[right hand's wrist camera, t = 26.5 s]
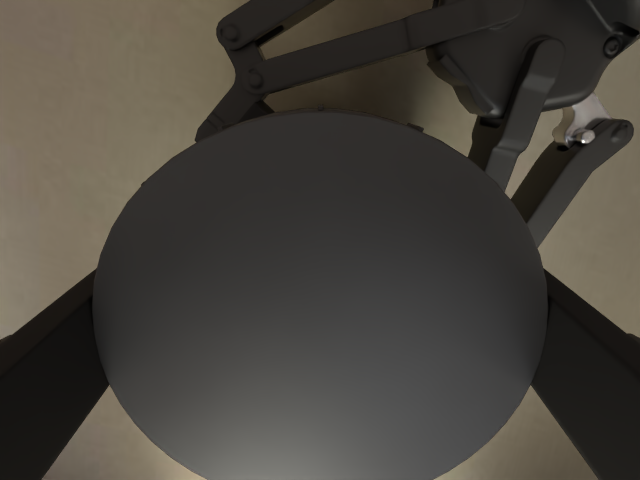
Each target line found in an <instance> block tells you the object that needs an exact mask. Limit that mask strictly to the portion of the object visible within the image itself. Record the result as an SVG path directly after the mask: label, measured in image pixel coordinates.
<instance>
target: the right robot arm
mask: <svg viewBox="0 0 640 480" xmlns="http://www.w3.org/2000/svg"><path fill="white" fill-rule="evenodd" d="M543 270H544V274H545V278H546V284H547V297H548V320H547V333H546V338H545V342H544V346H543V351H542V355H541V359H540V362H539V365H538V368H537V370H536V373H535V375H534V378H533V380H532V383H531V386H532V387H533V389H534V390H535V391H536V393H537V394H538V396H539V397H540V398H541V400H542V401H543V403H544V404H545V405H546V407H547V408H548V410H549V411H550V412H551V414H552V415H553V416H554V418H555V419H556V421H557V422H558V423H559V425H560V426H561V428H562V429H563V430H564V432H565V433H566V435H567V436H568V437H569V439H570V440H571V441H572V443H573V444H574V446H575V447H576V448H577V450H578V451H579V453H580V454H581V455H582V457H583V458H584V460H585V461H586V462H587V464H588V465H589V466H590V468H591V469H592V471H593V472H594V473H595V475H596V476H597V478H598V479H599V480H640V338H639V337H637V336H635V335H633V334H626V333H625V332H624V331H623V330H621V329H620V328H619V327H618V326H616V325H615V324H614V323H612V322H611V321H610V320H609V319H607V318H606V317H605V316H604V315H602V314H601V313H600V312H599V311H597V310H596V309H595V308H593V307H592V306H591V305H590V304H588V303H587V302H586V301H585V300H583V299H582V298H581V297H579V296H578V295H577V294H576V293H574V292H573V291H572V290H571V289H569V288H568V287H567V286H565V285H564V284H563V283H562V282H560V281H559V280H558V279H557V278H555V277H554V276H553V275H552V274H550V273H549V272H548V271H546V270H545V269H544V268H543ZM96 271H97V268H96V269H95V270H94V271H93V272H91V273H90V274H89V275H87V276H86V277H85V278H84V279H82V280H81V281H80V282H79V283H77V284H76V285H75V286H74V287H72V288H71V289H70V290H68V291H67V292H66V293H65V294H63V295H62V296H61V297H60V298H58V299H57V300H56V301H54V302H53V303H52V304H51V305H49V306H48V307H47V308H46V309H44V310H43V311H42V312H41V313H39V314H38V315H37V316H35V317H34V318H33V319H32V320H30V321H29V322H28V323H27V324H25V325H24V326H23V327H21V328H20V329H19V330H18V331H16V332H15V333H14V334H13V335H9V336H7V337H5V338H3V339H1V340H0V480H41V479H42V478H43V477H44V475H45V474H46V472H47V471H48V470H49V468H50V467H51V465H52V464H53V463H54V461H55V460H56V458H57V457H58V456H59V454H60V453H61V452H62V450H63V449H64V447H65V446H66V445H67V443H68V442H69V440H70V439H71V438H72V436H73V435H74V433H75V432H76V431H77V429H78V428H79V427H80V425H81V424H82V422H83V421H84V420H85V418H86V417H87V415H88V414H89V413H90V411H91V410H92V408H93V407H94V406H95V404H96V403H97V402H98V400H99V399H100V397H101V396H102V395H103V393H104V392H105V390H106V389H107V388H108V386H109V385H110V384H109V382H108V380H107V377H106V375H105V372H104V369H103V367H102V364H101V362H100V358H99V354H98V349H97V345H96V340H95V336H94V331H93V317H92V300H93V288H94V279H95V275H96Z"/></svg>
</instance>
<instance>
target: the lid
mask: <svg viewBox="0 0 640 480" xmlns="http://www.w3.org/2000/svg"><path fill="white" fill-rule="evenodd" d="M217 129H218V131H219V132H218V133H215V134H213V135H211V136H208V137H206V138H204V139H202V140H200V141H198V142H197V143H195V144H193V145H192V146H190V147H189V148H187V149H185V150H184V151H182V152H181V153H179V154H177V155H176V156H174V157H173V158H171V159H170V160H169V161H168V162H167V163H166V164H164V165H163V166H162V167H161V168H160V169H159V170H157V171H156V172H155V173H154V174H153V175H152V176H150V177H149V178H148V179H147V180H146V181H145V182H143V183H142V184H141V187H140V188H139V189H138V191H137V192H136V193H135V194H134V195H133V196H132V198H131V199H130V200H129V201H128V202H127V204H126V205H125V207H124V209H123V210H122V212H121V213H120V215H119V217H118V218H117V220H116V221H115V223H114V225H113V226H112V228H111V231H110V233H109V235H108V238H107V240H106V242H105V245H104V247H103V250H102V252H101V255H100V259H99V263H98V267H97V271H96V275H95V279H94V288H93V300H92V317H93V331H94V336H95V340H96V345H97V349H98V354H99V358H100V362H101V364H102V367H103V369H104V372H105V375H106V377H107V380H108V382H109V384H110V386H111V388H112V390H113V391H114V393H115V395H116V397H117V399H118V401H119V402H120V404H121V405H122V407H123V408H124V409H125V411H126V412H127V414H128V415H129V416H130V418H131V419H132V420H133V422H134V423H135V424H136V425H137V426H138V427H139V429H140V430H141V431H142V432H143V433H144V434H145V435H146V436H147V437H148V438H149V439H150V440H151V441H152V442H153V443H154V444H155V445H157V446H158V447H159V448H160V449H161V450H162V451H164V452H165V453H166V454H167V455H168V456H170V457H171V458H172V459H174V460H175V461H177V462H178V463H180V464H181V465H183V466H184V467H186V468H187V469H189V470H190V471H192V472H194V473H196V474H198V475H200V476H202V477H204V478H205V479H207V480H433V479H435V478H437V477H439V476H441V475H443V474H444V473H446V472H448V471H450V470H451V469H453V468H454V467H456V466H457V465H459V464H460V463H462V462H463V461H465V460H467V459H468V458H469V457H471V456H472V455H473V454H474V453H475V452H477V451H478V450H479V449H480V448H481V447H483V446H484V445H485V444H486V443H487V442H488V441H489V440H490V439H491V438H492V437H493V436H494V435H495V434H496V433H497V432H498V431H499V430H500V429H501V428H502V427H503V426H504V425H505V423H506V422H507V421H508V419H509V418H510V417H511V415H512V414H513V413H514V411H515V410H516V409H517V407H518V406H519V404H520V403H521V401H522V399H523V397H524V395H525V394H526V392H527V390H528V388H529V386H530V385H531V383H532V380H533V378H534V375H535V373H536V370H537V368H538V365H539V362H540V359H541V355H542V351H543V346H544V342H545V338H546V333H547V320H548V297H547V284H546V278H545V274H544V270H543V266H542V262H541V258H540V254H539V252H538V249H537V247H536V244H535V242H534V239H533V237H532V235H531V232H530V230H529V228H528V226H527V224H526V223H525V221H524V220H523V218H522V216H521V215H520V213H519V211H518V210H517V208H516V207H515V205H514V203H513V202H512V201H511V200H510V199H509V197H508V196H507V195H506V194H505V193H504V192H503V190H502V189H501V188H500V187H499V186H500V185H499V184H498V183H496V182H495V181H494V180H493V179H492V178H491V177H490V176H489V175H487V174H486V173H485V172H484V171H483V170H482V169H480V168H479V167H478V166H477V165H476V164H475V163H474V162H472V161H471V160H470V159H469V158H467V157H466V156H464V155H463V154H461V153H459V152H458V151H456V150H455V149H453V148H452V147H450V146H448V145H447V144H445V143H444V142H442V141H441V140H438V139H436V138H434V137H432V136H429V135H427V134H425V133H423V130H424V128H422V127H419V126H416V125H413V124H410V123H408V124H407V125H404V124H401V123H399V122H396V121H393V120H390V119H386V118H383V117H379V116H376V115H372V114H369V113H364V112H357V111H350V110H343V109H336V108H323V105H318V108H305V109H297V110H290V111H283V112H275V113H272V114H268V115H265V116H261V117H258V118H254V119H250V120H247V121H244V122H242V123H239V124H236V125H234V123H230V124H227V125H224V126H221V127H219V128H217Z"/></svg>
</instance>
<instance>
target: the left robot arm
mask: <svg viewBox="0 0 640 480" xmlns="http://www.w3.org/2000/svg"><path fill="white" fill-rule="evenodd" d="M333 1H334V0H250V1H249V2H247V3H245V4H244V5H242V6H241V7H239V8H238V9H236V10H235V11H233V12H232V13H230V14H229V15H227V16H226V17H224V18H223V19H222V20H221V21H220V22H219V23H218V26H217V28H216V35H217V38H218V41H219V42H220V43H221V45H222V46H223V47H224V48H225V50H226V52H227V54H228V56H229V58H230V60H231V62H232V63H233V66H234V68H235V73H236V77H235V82H234V84H233V86H232V88H231V89H230V90H229V91H228V93H227V94H226V95H225V96H224V97H223V99H222V100H221V101H220V102H219V104H218V105H217V106H216V107H215V109H214V110H213V111H212V112H211V113H210V115H209V116H208V117H207V119H206V120H205V121H204V122H203V123H202V124H201V126H200V127H199V128H198V130H197V134H196V138H195V141H196V142H198V141H200V140H202V139H204V138H206V137H208V136H211V135H213V134H215V133H218V132H219V131H218V129H217V128H219V127H221V126H224V125H227V124H230V123H234V125H236V124H239V123H242V122H244V121H247V120H250V119H254V118H258V117H261V116H265V115H268V114H272V113H275V112H274V111H273V110H272V109H271V108H270V107H269V106H268V105H267V104H266V103H265V102H264V101H263V100H264V99H265V98H266V97H267V96H268V95H269V94H271V93H275V92H278V91H282V90H285V89H288V88H292V87H295V86H299V85H302V84H306V83H309V82H313V81H316V80H319V79H323V78H326V77H330V76H333V75H337V74H340V73H343V72H347V71H350V70H354V69H357V68H361V67H364V66H368V65H371V64H374V63H378V62H381V61H385V60H388V59H392V58H395V57H399V56H403V55H406V54H410V53H413V52H417V51H420V50H424V49H426V54H427V58H428V60H429V62H428V63H427V65H428V66H429V67H430V69H431V70H432V71H433V72H434V73H435V74H436V75H437V76H438V77H439V78H441V79H442V80H444V81H446V82H447V83H449V84H450V85H452V86H453V88H454V90H455V93H456V95H457V97H458V99H459V101H460V102H461V104H462V105H463V106H464V107H465V108H466V109H467V110H468V111H469V113H472V114H477V115H478V116H477V119H476V122H475V125H474V128H473V132H472V146H471V149H470V152H469V155H468V158H469V159H470V160H471V161H472V162H474V163H475V164H476V165H477V166H478V167H479V168H480V169H482V170H483V171H484V172H485V173H486V174H487V175H489V176H490V177H491V178H492V179H493V180H494V181H495V182H496V183H498V184H499V185H500V186H499V187H500V188H501V189H502V190H503V192H505V190H506V187H507V184H508V182H509V179H510V176H511V174H512V171H513V168H514V166H515V163H516V160H517V158H518V156H519V155H520V153H522V152H523V151H525V149H526V148H527V147H528V144H529V142H530V140H531V137H532V135H533V132H534V129H535V127H536V124H537V122H538V119H539V116H540V114H541V112H545V111H550V110H555V109H561V108H562V109H563V118H562V121H561V122H560V124H559V125H558V126H557V127H555V128H554V129H553V131H552V135H553V137H554V141H553V142H552V143H551V144H550V145H549V146H548V147H547V148H546V149H545V150H544V151H543V152H542V154H541V155H540V156H539V158H538V159H537V160H536V162H535V163H534V165H533V166H532V168H531V169H530V171H529V173H528V174H527V176H526V177H525V179H524V180H523V182H522V183H521V185H520V186H519V188H518V189H517V191H516V192H515V194H514V195H513V197H512V198H511V201H512V202H513V203H514V205H515V207H516V208H517V210H518V211H519V213H520V215H521V216H522V218H523V220H524V221H525V223H526V224H527V226H528V228H529V230H530V232H531V235H532V237H533V239H534V242H535V244H536V247H537V248H538V247H539V245H540V244H541V243H542V241H543V240H544V238H545V237H546V236H547V234H548V233H549V231H550V230H551V229H552V227H553V226H554V224H555V223H556V222H557V220H558V219H559V218H560V216H561V215H562V213H563V212H564V211H565V209H566V208H567V206H568V205H569V204H570V202H571V201H572V199H573V198H574V197H575V195H576V194H577V192H578V191H579V190H580V188H581V187H582V185H583V184H584V183H585V181H586V180H587V178H588V177H589V176H590V174H591V173H592V171H594V170H595V169H596V168H597V167H599V166H600V165H601V164H603V163H604V162H605V161H606V160H608V159H609V158H610V157H611V156H613V155H614V154H615V153H616V152H618V151H619V150H620V149H621V148H623V147H624V146H625V145H627V143H628V142H629V141H630V140H631V138H632V136H633V133H634V128H633V125H632V124H631V123H630V122H629V121H627V120H622V119H613V118H611V116H610V115H609V114H608V112H607V111H606V109H605V108H604V106H603V105H602V104H601V102H600V101H599V99H598V98H597V96H596V95H595V94H594V92H593V91H594V89H595V88H596V86H597V84H598V82H599V79H600V77H601V75H602V73H603V72H604V70H605V68H606V67H607V66H608V64H609V63H610V62H611V61H612V60H613V59H614V58H615V57H616V56H617V55H619V54H620V53H621V52H623V51H624V50H625V49H627V48H628V47H629V46H630V45H632V44H633V43H634V42H635V41H637V40H638V39H639V38H640V0H434V1H433V6H432V9H429V10H426V11H423V12H419V13H416V14H413V15H410V16H408V17H405V18H403V19H401V20H398V21H394V22H391V23H388V24H384V25H381V26H378V27H374V28H371V29H368V30H364V31H361V32H358V33H354V34H351V35H348V36H344V37H341V38H338V39H334V40H331V41H328V42H324V43H321V44H318V45H314V46H311V47H308V48H304V49H301V50H298V51H294V52H291V53H287V54H284V55H281V56H277V57H274V58H271V59H267V60H266V59H265V57H264V55H263V53H262V51H261V49H260V47H261V46H262V45H264V44H266V43H267V42H269V41H270V40H272V39H274V38H275V37H277V36H278V35H280V34H282V33H283V32H285V31H286V30H288V29H290V28H291V27H293V26H294V25H296V24H298V23H299V22H301V21H302V20H304V19H305V18H307V17H309V16H310V15H312V14H313V13H315V12H317V11H318V10H320V9H321V8H323V7H325V6H326V5H328V4H329V3H331V2H333Z"/></svg>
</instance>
